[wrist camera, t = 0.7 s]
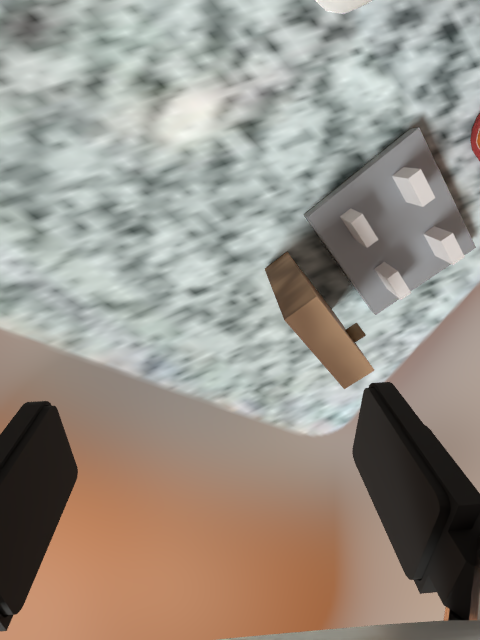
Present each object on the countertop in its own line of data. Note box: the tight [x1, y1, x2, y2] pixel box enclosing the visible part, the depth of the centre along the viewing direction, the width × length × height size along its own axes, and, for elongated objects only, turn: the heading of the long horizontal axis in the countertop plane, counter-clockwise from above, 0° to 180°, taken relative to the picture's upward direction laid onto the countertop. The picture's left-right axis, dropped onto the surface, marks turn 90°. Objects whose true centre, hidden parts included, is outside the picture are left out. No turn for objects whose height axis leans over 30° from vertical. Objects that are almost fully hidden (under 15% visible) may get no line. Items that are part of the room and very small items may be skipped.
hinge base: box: [304, 128, 476, 315], centre depth 33 cm, size 12×14×4 cm
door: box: [265, 252, 374, 389], centre depth 32 cm, size 4×9×12 cm, turn 39°
